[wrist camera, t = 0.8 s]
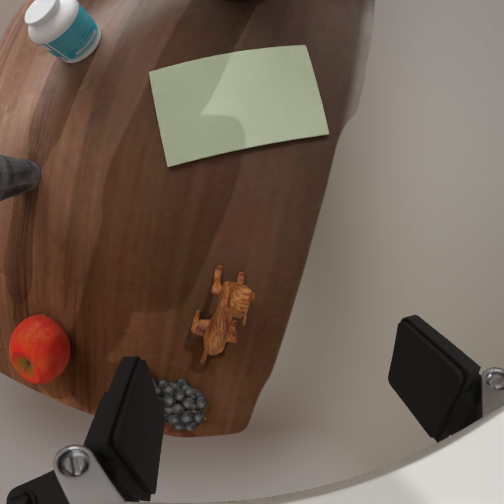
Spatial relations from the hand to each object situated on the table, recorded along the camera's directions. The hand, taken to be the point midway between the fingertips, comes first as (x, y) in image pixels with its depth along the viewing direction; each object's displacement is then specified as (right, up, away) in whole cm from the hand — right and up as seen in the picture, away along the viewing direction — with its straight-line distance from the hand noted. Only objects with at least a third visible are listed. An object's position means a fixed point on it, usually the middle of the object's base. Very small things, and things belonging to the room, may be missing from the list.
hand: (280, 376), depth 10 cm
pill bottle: (-27, +36, +20) cm, 49 cm away
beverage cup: (-35, +16, +24) cm, 45 cm away
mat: (-3, +24, +25) cm, 35 cm away
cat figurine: (-6, -4, +33) cm, 33 cm away
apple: (-36, -10, +31) cm, 48 cm away
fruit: (-16, -18, +35) cm, 42 cm away
